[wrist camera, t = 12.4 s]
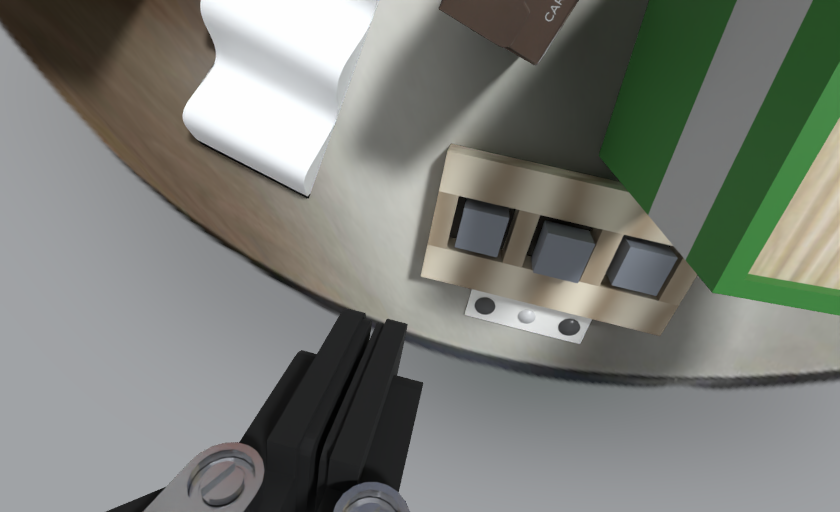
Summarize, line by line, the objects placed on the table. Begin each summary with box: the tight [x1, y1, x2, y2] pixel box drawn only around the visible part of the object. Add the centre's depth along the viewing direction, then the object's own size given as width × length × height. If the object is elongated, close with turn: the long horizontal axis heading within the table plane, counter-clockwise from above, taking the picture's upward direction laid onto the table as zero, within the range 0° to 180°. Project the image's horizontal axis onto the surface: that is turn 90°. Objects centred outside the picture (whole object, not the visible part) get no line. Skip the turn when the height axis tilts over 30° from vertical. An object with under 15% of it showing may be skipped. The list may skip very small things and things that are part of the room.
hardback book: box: [599, 0, 840, 315], centre depth 24 cm, size 18×7×24 cm, turn 174°
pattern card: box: [465, 289, 592, 344], centre depth 48 cm, size 14×4×1 cm, turn 80°
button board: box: [421, 144, 697, 336], centre depth 42 cm, size 26×14×3 cm, turn 80°
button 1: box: [455, 198, 509, 257], centre depth 42 cm, size 4×4×3 cm
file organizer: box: [183, 0, 379, 198], centre depth 36 cm, size 13×35×5 cm, turn 154°
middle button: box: [531, 220, 595, 283], centre depth 40 cm, size 4×4×3 cm
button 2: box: [606, 235, 678, 296], centre depth 41 cm, size 4×4×3 cm
